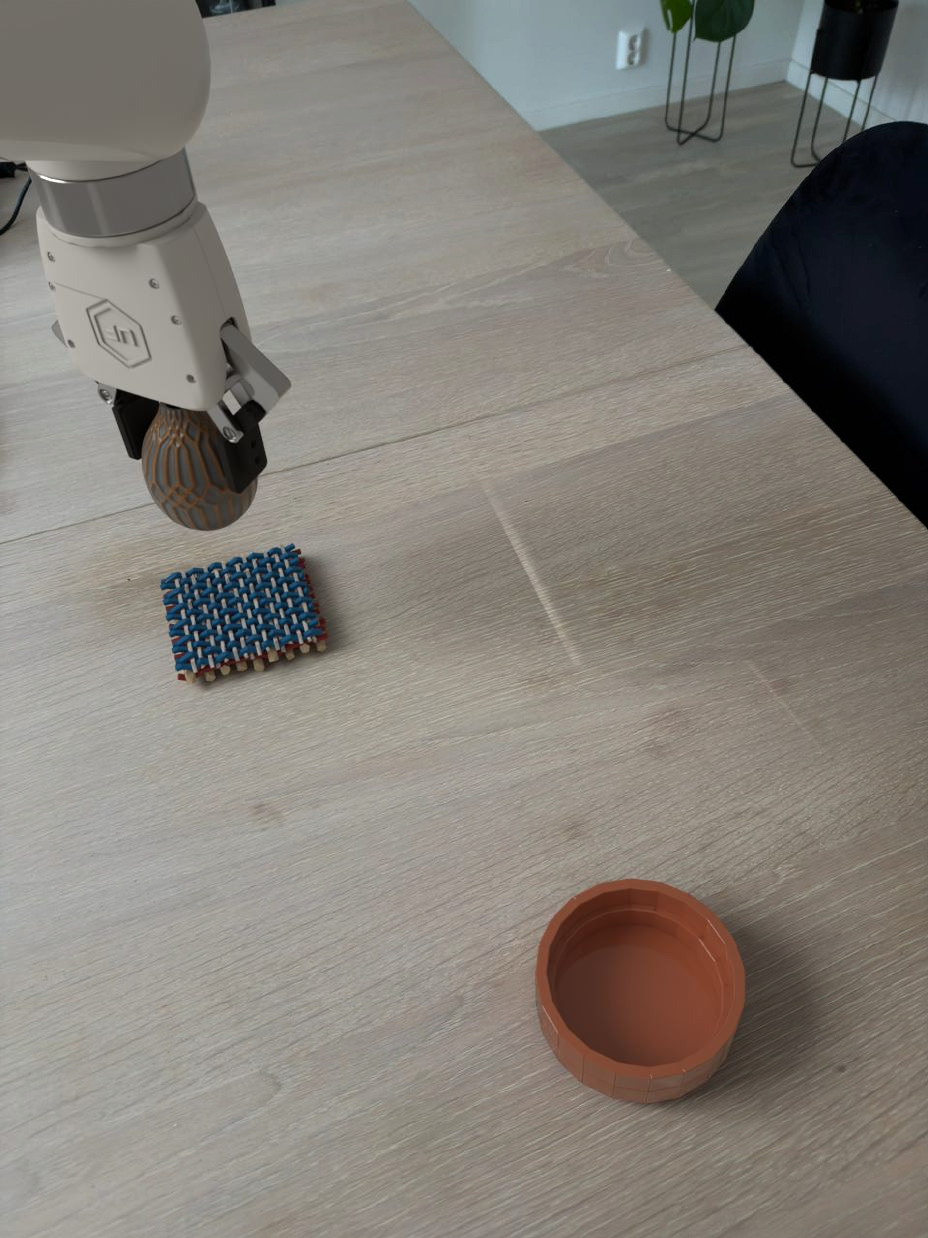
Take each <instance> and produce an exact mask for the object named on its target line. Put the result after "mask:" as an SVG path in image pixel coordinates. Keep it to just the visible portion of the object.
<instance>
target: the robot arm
mask: <svg viewBox="0 0 928 1238" xmlns="http://www.w3.org/2000/svg"><path fill="white" fill-rule="evenodd" d="M211 64H212V62H211V53H210V46H209V41H208V36H207V31H206V27H205V23H204V21H203V18H202V14H201V12H200V9H199V6H198V3H197V2H196V0H0V163H13V162H20V161H24V164H25V166H26V168H27V171H28V174H29V177H30V180H31V182H32V185H33V188H34V191H35V194H36V196H37V199H38V202H39V206H38V208H37V210H36V214H35V218H36V220H35V221H36V232H37V239H38V245H39V246H38V247H39V253H40V257H41V261H42V266H43V271H44V276H45V279H46V283H47V286H48V290H49V294H50V297H51V302H52V305H53V308H54V312H55V314H56V318H57V319H56V320H55V322H54V323H53V324H52V325H51V331H52V334H54V336H55V337H56V338H57V339H58V340H59V341H60V342H61V344H63V346H65V348H66V349H67V350H68V353H69V355H70V358H71V360H72V362H73V364H74V366H75V368H76V369H77V370H78V372H80V373H81V374H82V375H83V376H85V377H87V378H88V379H90V380H92V381H94V382H95V383H96V384H97V394H98V396H99V398H100V399H101V400H102V401H103V403H106V404H108V405H113V406H112V407H111V411H112V414H113V417H114V420H115V423H116V425H117V428H118V432H119V433H120V436H121V439H122V442H123V444H124V447H125V450H126V454H127V457H128V458H130V459H132V460H135V461H139V460H140V461H141V460H142V446H143V441H144V438H145V435H146V433H147V431H148V429H149V427H150V425H151V423H152V422H153V420H154V418H155V416H156V415H157V413H158V410H159V405H160V402H163V403H167V404H170V405H174V406H177V407H181V408H185V409H188V410H194V411H207V413H208V414H209V416H210V417H211V419H212V420H213V422H214V423H215V425H216V426H217V428H218V429H219V431H220V432H221V434H222V435H221V436H220V437H219V438H218V439H217V441H216V445H217V448H218V452H219V456H220V459H221V463H222V466H223V470H224V474H225V477H226V481H227V484H228V487H229V488H230V491H231V492H234V493H237V494H241V493H242V492H243V491H244V490H245V489H246V488H247V487H248V486H249V485H250V484H251V483H252V481H253V480H254V479H255V478H256V477H257V476H258V475H259V476H260V474H261V473H262V472H263V471H264V470H265V469H266V468H267V465H268V457H267V453H266V449H265V445H264V440H263V436H262V432H261V428H260V422H262V420H263V419H264V418H265V417H266V416H267V415H268V414H269V413H270V412H271V411H272V410H273V409H274V408H275V407H276V406H277V404H279V402H280V401H282V399H283V398H284V397H285V396H286V394H287V393H288V392H289V391H290V390H291V388H292V383H291V380H290V379H289V378H288V376H286V375H285V373H284V372H283V371H281V369H279V367H277V366H276V365H275V364H274V363H273V362H272V361H271V360H270V359H269V358H268V357H267V356H266V355H264V353H263V352H261V350H260V349H258V347H256V346H255V345H254V344H253V338H252V334H251V329H250V326H249V320H248V318H247V313H246V310H245V306H244V302H243V299H242V295H241V292H240V289H239V286H238V283H237V279H236V276H235V274H234V270H233V268H232V265H231V263H230V260H229V258H228V255H227V251H226V249H225V247H224V244H223V242H222V239H221V237H220V235H219V232H218V230H217V227H216V224H215V223H214V221H213V219H212V216H211V214H210V212H209V210H208V208H207V205H206V204H205V203H202V202H201V201H199V197H198V192H197V189H196V185H195V184H196V183H195V180H194V176H193V172H192V168H191V163H190V159H189V155H188V152H187V147H186V146H187V145H188V143H190V141H192V139H193V138H194V136H195V135H196V133H197V131H198V130H199V128H200V127H201V123H202V122H203V119H204V117H205V114H206V111H207V108H208V103H209V99H210V92H211V91H210V90H211V84H212V69H211V68H212V65H211ZM229 391H230V393H231V394H232V396H233V397H234V399H235V400H236V402H237V403H238V405H239V407H240V408H238V410H237V411H236V412H235V413H234V414H233V413H232V411H231V409H230V408H229V406H228V405H227V403H226V402H225V400H224V399H223V398H224V396H225V395H226V393H228V392H229Z"/></svg>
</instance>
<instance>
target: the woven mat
mask: <svg viewBox="0 0 928 1238" xmlns="http://www.w3.org/2000/svg"><path fill="white" fill-rule="evenodd" d="M302 554H303V553H302V550H301V548H297V549H296V545H295V544H294V543H293V542H292V543H290V544H288V545H286V546H284V544H279V547H278V546H276V547H275V546H274V547H271V548H270V549H269V550H268V551H267V550H266V548H264V549H263V550H262V552H254V551H253V550H251V551H249V555H247V556H246V555H245V553H243V554H242V555H241V556H235V557H233V558H232V559H230V560H228V561H226V560H220V562H218V561H214V562H212V563H210V565H204V564H203V566H202V567H192V568H191V569H189V570H188V571H186V570H181V571H180V572H179V571H176V572H173V573H171V574H170V575H168V576H167V577H166V578H163V579H160V585H159V587H160V590H161V591H162V592H163V591H165V590H168V591H166V592H165V593H164V594H163V595H162V604H163V605H164V608H165V611H166V615H165V621H167V622H168V623H169V622H171V621H174V623H169V624H168V630H169V631H168V636H169V637H170V638H171V644H172V645H171V647H172V648H171V652H172V654H173V659H174V662H175V663H174V669H175V671H176V672H180V671H183V673H178V674H177V676H176V677H177V680H178V681H181V682H182V681H183V682H186V684H187V685H191V684H194V683H197V682H198V678H200V677H201V676H202V675H203V674H204V678H205V681H206V682H211V683H212V682H213V681H215V680H216V679H217V677H216V674H215V670H217V669H219V670H220V672H221V674H222V676H225V675H229V674H230V672H231V670H232V669H231V666H230V665H234V664H235V666H236V670H237V671H238V672H244V671H246V670H248V664H247V661H252V664H253V668H254V671H256V672H263V671H264V670H265V664H264V660H263V659H267V660H268V662H269V663H272V662H276V661H279V660H280V658H279V657H281V656H282V655H283V654H284V655H285V658H286V659H287V660H288V661H291V660H293V659H294V658H295V657H296V655H295V651H294V649H296V648H299V650H300V652H301V653H302V654H307V653H309V652H310V649H311V647H310V644H313V643H314V644H315V647H316V651H317V652H321V653H323V652H325V651H326V650H327V645H326V641H325V640H326V639H329V635H328V632H327V631H326V625H325V624H326V623H327V622H326V619H325V617H323V616H321V617H320V618H319V617H318V615H321V610H320V608H319V607H320V606H321V604H320V602H318V601H315V602H314V601H313V600H315V599H316V594H315V592H314V588H313V585H312V580H311V576H310V574H309V573H306V572H305V573H304V571H303V570H306V569H307V566H306V563H305V562H306V560H305V558H304V557H300V555H302ZM324 631H325V632H324ZM231 649H232V651H231ZM196 650H197V651H196ZM265 650H266V651H265Z"/></svg>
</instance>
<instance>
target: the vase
mask: <svg viewBox="0 0 928 1238" xmlns="http://www.w3.org/2000/svg"><path fill="white" fill-rule="evenodd" d="M159 403H160V405H159V410H158V413H157V415H156V416H155V418H154V420H153V422H152V423H151V425H150V427H149V429H148V431H147V433H146V435H145V438H144V441H143V446H142V459H141V470H142V471H141V472H142V477H143V480H144V483H145V485H146V488H147V490H148V493H149V494H150V497H151V499H152V500H153V502H154V503H155V505H156V506H157V508H159V510H160V511H161V513H163V514H164V515H165V516H166V517H167V518H168V519H169V520H171V521H172V522H173V523H176V524H177V525H179V526H181V527H183V528H186V529H188V530H194V531H198V532H212V531H219V530H223V529H225V528H227V527H229V526H231V525H233V524H234V523H236V522H237V521H238V520H239V519H241V517H243V516H244V515H245V514H246V513H247V511H248V510H249V508H250V507H251V505H252V504H253V503H254V500H255V498H256V494H257V491H258V486H259V476H260V474H259V475H258V476H257V477H256V478H255V479H254V480H253V481H252V483H251V484H250V485H249V486H248V487H247V488H246V489H245V490H244V491H243V492H242V493H241V494H237V493H234V492H231V491H230V488H229V487H228V484H227V481H226V477H225V474H224V470H223V466H222V463H221V459H220V456H219V452H218V448H217V445H216V441H217V439H218V438H219V437H220V436H221V435H222V434H221V432H220V431H219V429H218V428H217V426H216V425H215V423H214V422H213V420H212V419H211V417H210V416H209V414H208V413H207V411H194V410H188V409H185V408H181V407H177V406H174V405H170V404H167V403H163V402H160V401H159Z"/></svg>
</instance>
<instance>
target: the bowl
mask: <svg viewBox="0 0 928 1238" xmlns="http://www.w3.org/2000/svg"><path fill="white" fill-rule="evenodd" d="M746 979H747V978H746V968H745V965H744V962H743V959H742V956H741V953H740V950H739V947H738V944H737V942H736V939H735V938H734V936H733V935H732V934H731V932H730V931H729V930H728V929H727V927H726V926H725V925H724V923H723V922H722V920H721V919H720V917H719V916H718V915H717V914H716V913H715V912H714V911H712V910H711V909H710V908H709V907H708V906H706V905H705V904H704V903H702V902H701V901H700V900H698V899H697V898H696V896H693V895H692V894H691V893H688V892H687V891H684V890H681V889H680V888H677V887H674V886H672V885H670V884H668V883H664V882H663V881H655V880H648V879H640V878H624V879H618V880H612V881H611V880H610V881H605V882H601V883H598V884H595V885H593V886H592V887H590V888H587V889H585V890H583V891H581V892H580V893H577V894H575V895H574V896H573V897H571V898H570V899H569V900H568V901H567V902H566V903H565V904H564V905H563V906H562V907H561V908H560V909H559V910H558V911H557V912H556V913H555V914H554V915H553V916H552V918H551V919H550V921H549V923H548V925H547V927H546V929H545V931H544V932H543V935H542V937H541V938H540V941H539V944H538V949H537V955H536V963H535V971H534V988H535V989H534V990H535V991H534V993H535V997H534V998H535V1007H536V1012H537V1017H538V1022H539V1026H540V1031H541V1033H542V1035H543V1037H544V1039H545V1041H546V1042H547V1044H548V1046H549V1048H550V1049H551V1051H552V1053H553V1055H554V1057H555V1058H556V1060H557V1061H558V1063H559V1064H561V1065H562V1066H563V1067H564V1068H565V1069H566V1070H567V1071H568V1072H569V1073H570V1074H571V1075H572V1076H573V1077H574V1078H575V1079H576V1080H577V1081H579V1082H580V1083H581V1084H583V1085H585V1086H587V1087H588V1088H590V1089H593V1090H594V1091H597V1092H599V1093H601V1094H603V1095H605V1096H607V1097H609V1098H612V1099H614V1100H620V1101H625V1102H633V1103H639V1104H652V1103H658V1102H663V1101H670V1100H676V1099H678V1098H681V1097H683V1096H685V1095H686V1094H688V1093H690V1092H692V1091H693V1090H695V1089H697V1088H699V1087H700V1086H702V1085H704V1084H706V1083H707V1082H708V1081H709V1080H710V1079H711V1077H712V1076H713V1075H714V1074H715V1073H716V1072H717V1070H718V1069H719V1068H720V1067H721V1066H722V1064H723V1063H724V1062H725V1061H726V1059H727V1057H728V1054H729V1052H730V1049H731V1047H732V1044H733V1041H734V1038H735V1036H736V1032H737V1030H738V1027H739V1024H740V1021H741V1018H742V1015H743V1012H744V1009H745V1006H746V1002H747V1001H746V999H747V998H746V997H747V995H746V993H747V992H746V991H747V990H746V986H747V985H746Z"/></svg>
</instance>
